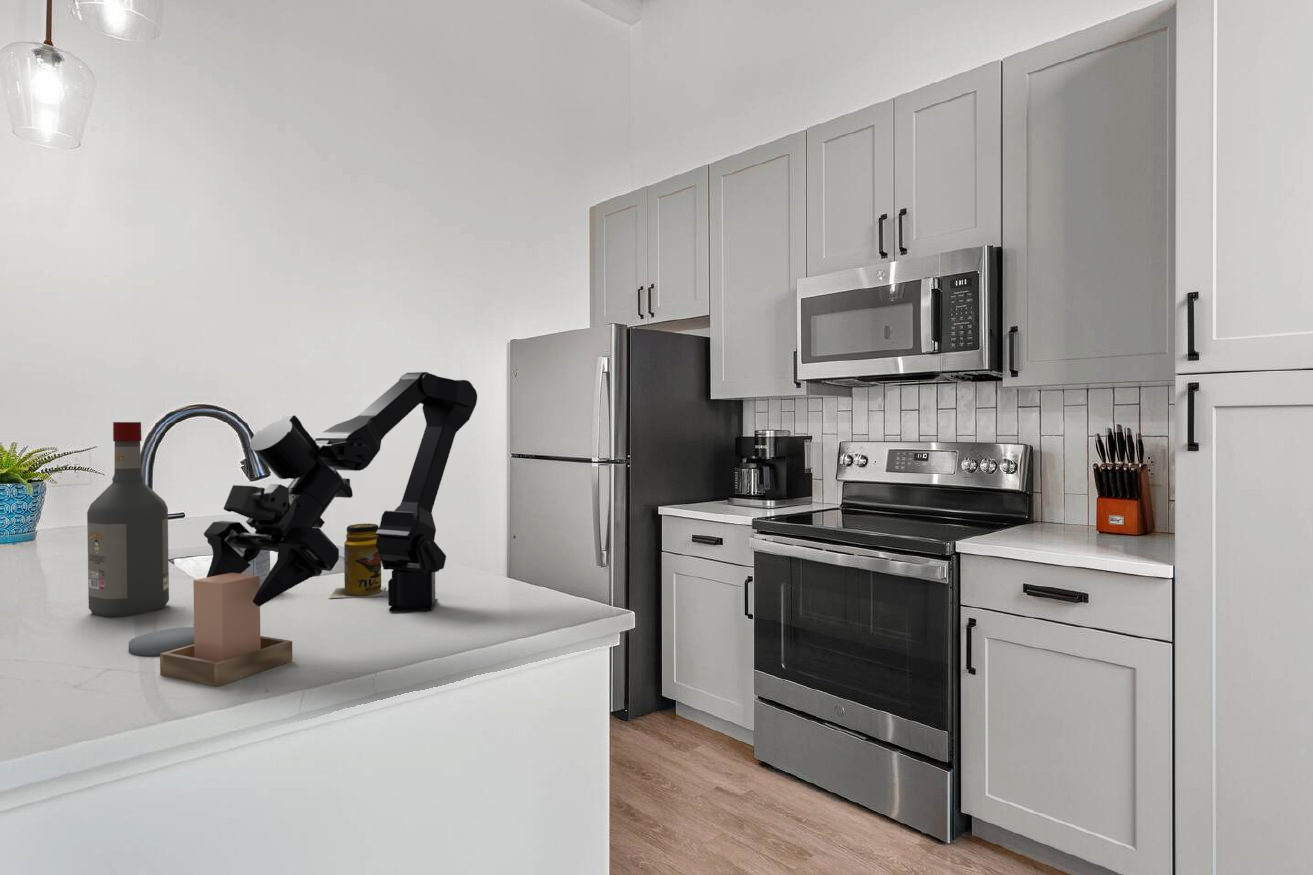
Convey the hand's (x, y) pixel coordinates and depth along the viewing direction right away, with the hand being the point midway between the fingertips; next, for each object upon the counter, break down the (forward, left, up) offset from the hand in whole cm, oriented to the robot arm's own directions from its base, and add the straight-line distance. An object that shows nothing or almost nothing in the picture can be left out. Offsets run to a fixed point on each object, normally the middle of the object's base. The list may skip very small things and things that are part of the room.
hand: (229, 600), depth 92 cm
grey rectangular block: (+16, -42, -8) cm, 46 cm away
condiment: (-4, -40, -8) cm, 41 cm away
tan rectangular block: (0, 0, -8) cm, 8 cm away
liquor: (+29, -32, -8) cm, 44 cm away
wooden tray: (0, 0, -8) cm, 8 cm away
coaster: (+12, -11, -8) cm, 18 cm away
